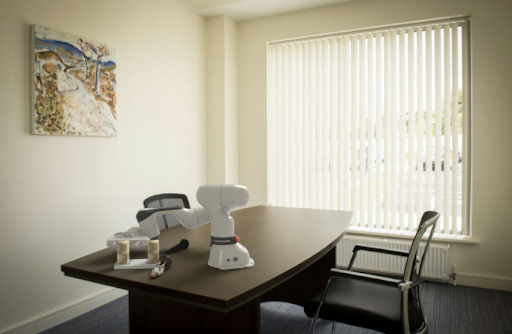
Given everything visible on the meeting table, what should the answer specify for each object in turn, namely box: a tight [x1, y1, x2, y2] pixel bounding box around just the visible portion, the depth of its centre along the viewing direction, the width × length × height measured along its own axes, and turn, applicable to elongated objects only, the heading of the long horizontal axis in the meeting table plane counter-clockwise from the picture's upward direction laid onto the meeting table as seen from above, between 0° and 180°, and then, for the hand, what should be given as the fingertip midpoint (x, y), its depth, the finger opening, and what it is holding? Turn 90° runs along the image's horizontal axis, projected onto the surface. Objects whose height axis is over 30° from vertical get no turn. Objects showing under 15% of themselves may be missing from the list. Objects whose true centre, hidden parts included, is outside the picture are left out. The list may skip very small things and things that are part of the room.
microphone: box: [162, 238, 190, 255], centre depth 203 cm, size 6×6×20 cm
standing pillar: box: [147, 239, 160, 263], centre depth 179 cm, size 4×4×10 cm
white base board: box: [113, 258, 157, 270], centre depth 178 cm, size 21×10×2 cm, turn 97°
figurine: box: [149, 254, 173, 279], centre depth 169 cm, size 8×7×18 cm
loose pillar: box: [116, 241, 130, 264], centre depth 177 cm, size 4×4×10 cm
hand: (124, 245), depth 183 cm, fingers open, 8 cm apart
